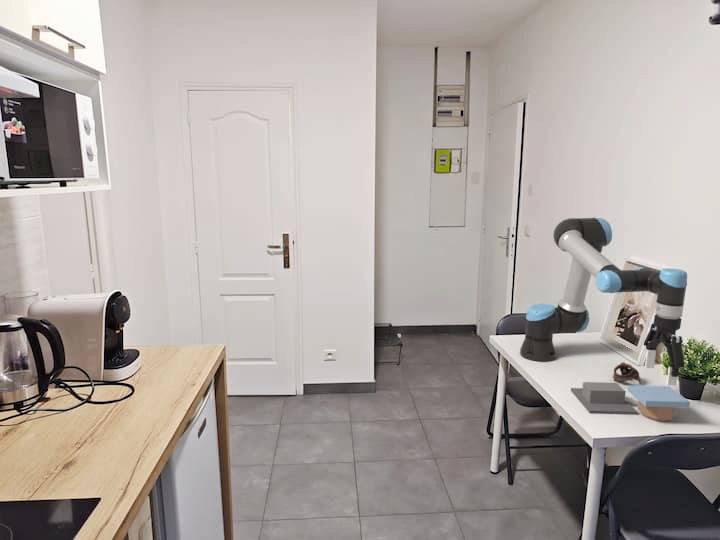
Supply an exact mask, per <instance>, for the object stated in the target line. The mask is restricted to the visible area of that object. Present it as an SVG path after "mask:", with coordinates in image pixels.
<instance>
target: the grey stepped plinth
mask: <svg viewBox="0 0 720 540" xmlns="http://www.w3.org/2000/svg"><path fill="white" fill-rule="evenodd" d="M570 391H571V393H572V394H573V395H574V396H575V397H576V399H577V400H578V401H579V402H580V403H581V404H582V405H583V408H585V410H586V411H587V412H588V413H589V414H599V415H600V414H601V415H603V414H606V415H639V414H638V411H637V410H636V409H635V408H634V407H633V405H632V404H630V403H629V401H627V400H626V390H625V389H624V388H623V387H622V386H621V385H620V384H619V383H618V382H600V381H599V382H595V381H592V382H591V381H583V383H582V388H581V387H570Z"/></svg>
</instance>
